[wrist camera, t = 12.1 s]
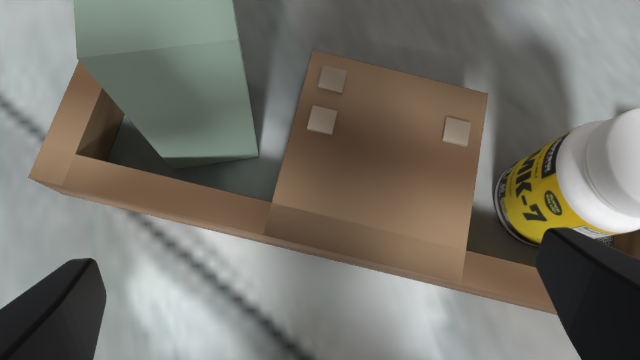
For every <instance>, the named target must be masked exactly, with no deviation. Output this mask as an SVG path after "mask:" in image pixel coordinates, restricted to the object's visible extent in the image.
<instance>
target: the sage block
mask: <svg viewBox="0 0 640 360" xmlns="http://www.w3.org/2000/svg"><path fill="white" fill-rule="evenodd" d="M74 11H75V29H76V48H77V59H78V60H79V61H80V62H81V63H82V64H83V66H84V67H85V68H86V69H87V70H88V72H89V73H90V74H91V75H92V76H93V77H94V79H95V80H96V81H97V82H98V83H99V84H100V86H101V87H102V88H103V89H104V90H105V91H106V93H107V94H108V95H109V96H110V97H111V98H112V100H113V101H114V102H115V103H116V104H117V105H118V107H119V108H120V109H121V110H122V111H123V112H124V114H125V115H126V116H127V117H128V118H129V120H130V121H131V122H132V123H133V124H134V125H135V127H136V128H137V129H138V130H139V131H140V132H141V134H142V135H143V136H144V137H145V138H146V139H147V141H148V142H149V143H150V144H151V145H152V146H153V148H154V149H155V150H156V151H157V152H158V153H159V155H160V156H161V157H162V158H163V159H164V160H165V162H166V163H167V164H168V165H169V166H170V168H171V169H172V170H173V169H180V168H187V167H193V166H200V165H207V164H214V163H220V162H227V161H234V160H240V159H247V158H254V157H259V154H258V148H257V141H256V135H255V129H254V122H253V116H252V109H251V103H250V97H249V90H248V84H247V78H246V72H245V66H244V60H243V54H242V48H241V42H240V36H239V30H238V24H237V18H236V13H235V7H234V1H233V0H74Z"/></svg>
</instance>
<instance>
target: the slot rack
mask: <svg viewBox="0 0 640 360" xmlns="http://www.w3.org/2000/svg"><path fill="white" fill-rule="evenodd" d="M487 97H488V94H487V93H484V92H480V91H476V90H472V89H468V88H464V87H460V86H456V85H452V84H448V83H444V82H440V81H436V80H432V79H428V78H424V77H420V76H416V75H412V74H408V73H404V72H400V71H396V70H392V69H388V68H384V67H380V66H376V65H372V64H368V63H364V62H360V61H356V60H352V59H348V58H344V57H340V56H336V55H332V54H328V53H324V52H320V51H316V50H313V51H312V55H311V59H310V62H309V66H308V70H307V74H306V77H305V81H304V85H303V88H302V92H301V96H300V99H299V103H298V107H297V111H296V114H295V118H294V122H293V125H292V129H291V133H290V136H289V140H288V144H287V147H286V151H285V155H284V159H283V162H282V166H281V170H280V173H279V177H278V181H277V184H276V188H275V192H274V196H273V199H272V203H271V202H267V201H263V200H259V199H255V198H251V197H247V196H243V195H239V194H235V193H231V192H227V191H223V190H219V189H215V188H210V187H206V186H202V185H198V184H194V183H190V182H186V181H182V180H178V179H174V178H170V177H166V176H162V175H158V174H153V173H149V172H145V171H141V170H137V169H133V168H129V167H125V166H121V165H117V164H113V163H109V162H106V160H107V158H108V155H109V153H110V150H111V147H112V145H113V142H114V140H115V137H116V134H117V132H118V129H119V127H120V124H121V122H122V119H123V116H124V112H123V111H122V110H121V109H120V108H119V107H118V105H117V104H116V103H115V102H114V101H113V100H112V98H111V97H110V96H109V95H108V94H107V93H106V91H105V90H104V89H103V88H102V87H101V86H100V84H99V83H98V82H97V81H96V80H95V79H94V77H93V76H92V75H91V74H90V73H89V72H88V70H87V69H86V68H85V67H84V66H83V64H82V63H81V62H80V61H79V62H78V64H77V67H76V69H75V71H74V74H73V76H72V78H71V80H70V83H69V85H68V87H67V90H66V92H65V94H64V97H63V99H62V101H61V103H60V106H59V108H58V110H57V113H56V115H55V117H54V120H53V122H52V124H51V126H50V129H49V131H48V133H47V136H46V138H45V140H44V143H43V145H42V147H41V149H40V152H39V154H38V156H37V159H36V161H35V163H34V166H33V168H32V170H31V172H30V175H29V177H28V178H30V179H32V180H34V181H36V182H38V183H41V184H43V185H45V186H47V187H49V188H51V189H53V190H55V191H57V192H59V193H61V194H65V195H69V196H73V197H78V198H82V199H86V200H90V201H94V202H98V203H102V204H106V205H110V206H114V207H118V208H123V209H127V210H131V211H135V212H139V213H143V214H147V215H151V216H155V217H159V218H163V219H168V220H172V221H176V222H180V223H184V224H188V225H192V226H196V227H200V228H204V229H208V230H212V231H217V232H221V233H225V234H229V235H233V236H237V237H241V238H245V239H249V240H253V241H257V242H262V243H266V244H270V245H274V246H278V247H282V248H286V249H290V250H294V251H298V252H302V253H307V254H311V255H315V256H319V257H323V258H327V259H331V260H335V261H339V262H343V263H347V264H352V265H356V266H360V267H364V268H368V269H372V270H376V271H380V272H384V273H388V274H392V275H397V276H401V277H405V278H409V279H413V280H417V281H421V282H425V283H429V284H433V285H437V286H442V287H446V288H450V289H454V290H458V291H462V292H466V293H470V294H474V295H478V296H482V297H487V298H491V299H495V300H499V301H503V302H507V303H511V304H515V305H519V306H523V307H527V308H532V309H536V310H540V311H544V312H548V313H552V314H556V315H557V312H556V310H555V308H554V306H553V304H552V302H551V299H550V297H549V295H548V293H547V291H546V289H545V287H544V284H543V282H542V280H541V278H540V276H539V274H538V271H537V268H536V267H532V266H528V265H524V264H520V263H516V262H512V261H507V260H503V259H499V258H495V257H491V256H487V255H483V254H479V253H475V252H471V251H467V250H466V246H467V239H468V232H469V225H470V218H471V210H472V203H473V196H474V189H475V182H476V175H477V168H478V161H479V154H480V146H481V139H482V132H483V125H484V118H485V111H486V104H487ZM613 248H615V249H617V250H619V251H622V252H624V253H626V254H628V255H630V256H633V257H635V258H637V259H639V260H640V229H638V230H635V231H632V232H627V233H621V234H616V235H614V246H613Z"/></svg>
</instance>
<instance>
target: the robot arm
mask: <svg viewBox="0 0 640 360" xmlns="http://www.w3.org/2000/svg"><path fill="white" fill-rule="evenodd" d="M536 268H537V271H538V274H539V276H540V278H541V280H542V282H543V284H544V287H545V289H546V291H547V293H548V295H549V297H550V299H551V302H552V304H553V306H554V308H555V310H556V312H557V315H558V317H559V319H560V321H561V323H562V325H563V327H564V329H565V331H566V333H567V335H568V337H569V339H570V341H571V342H572V344H573V346H574V348H575V349H576V351H577V353H578V354H579V356H580V358H581V359H582V360H640V260H639V259H637V258H635V257H633V256H630V255H628V254H626V253H624V252H622V251H619V250H617V249H615V248H613V247H611V246H608V245H606V244H604V243H602V242H600V241H597V240H595V239H593V238H591V237H589V236H586V235H584V234H582V233H580V232H578V231H576V230H573V229H571V228H568V227H556V228H549V229H547V230H546V231H545V232H544V234H543V237H542V241H541V244H540V247H539V250H538V253H537V256H536ZM105 305H106V289H105V286H104V283H103V280H102V277H101V274H100V271H99V268H98V265H97V262H96V261H95V260H94V259H92V258H84V259H72V260H69V261H68V262H66V263H65V264H63V265H62V266H61V267H59V268H58V269H56V270H55V271H54V272H52V273H51V274H49V275H48V276H47V277H45V278H44V279H42V280H41V281H40V282H38V283H37V284H35V285H34V286H33V287H31V288H30V289H28V290H27V291H26V292H24V293H23V294H21V295H20V296H19V297H17V298H16V299H14V300H13V301H12V302H10V303H9V304H7V305H6V306H5V307H3V308H2V309H0V360H93V359H94V354H95V350H96V345H97V341H98V336H99V332H100V327H101V323H102V318H103V314H104V309H105Z"/></svg>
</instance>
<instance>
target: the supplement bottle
mask: <svg viewBox="0 0 640 360" xmlns="http://www.w3.org/2000/svg"><path fill="white" fill-rule="evenodd" d="M495 206H496V210H497V214H498V216H499V219H500V221H501V222H502V224H503V226H504V227H505V228H506V230H507V231H508V232H509V233H510V234H511V235H513V236H514V237H515V238H517V239H518V240H520V241H522V242H524V243H526V244H529V245H532V246H537V247H540V244H541V241H542V237H543V234H544V232H545V231H546V230H547V229H549V228H556V227H568V228H571V229H573V230H576V231H578V232H580V233H582V234H584V235H586V236H589V237H591V238H593V239H595V238H600V237H605V236H611V235H616V234H621V233H627V232H632V231H635V230H638V229H640V108H636V109H632V110H629V111H627V112H624V113H622V114H620V115H618V116H616V117H614V118H612V119H609V120H607V121H594V122H590V123H587V124H584V125H582V126H579V127H577V128H575V129H574V130H572V131H570V132H568V133H567V134H565V135H563V136H561V137H560V138H558V139H556V140H555V141H553V142H551V143H549V144H548V145H546V146H544V147H543V148H541V149H539V150H538V151H536V152H534V153H533V154H531V155H529V156H527V157H525V158H524V159H522V160H520V161H518V162H516V163H515V164H513V165H512V166H511V167H509V168H508V169H507V170H506V171H505V172H504V173H503V174H502V176H501V177H500V179H499V181H498V183H497V185H496V189H495Z"/></svg>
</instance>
